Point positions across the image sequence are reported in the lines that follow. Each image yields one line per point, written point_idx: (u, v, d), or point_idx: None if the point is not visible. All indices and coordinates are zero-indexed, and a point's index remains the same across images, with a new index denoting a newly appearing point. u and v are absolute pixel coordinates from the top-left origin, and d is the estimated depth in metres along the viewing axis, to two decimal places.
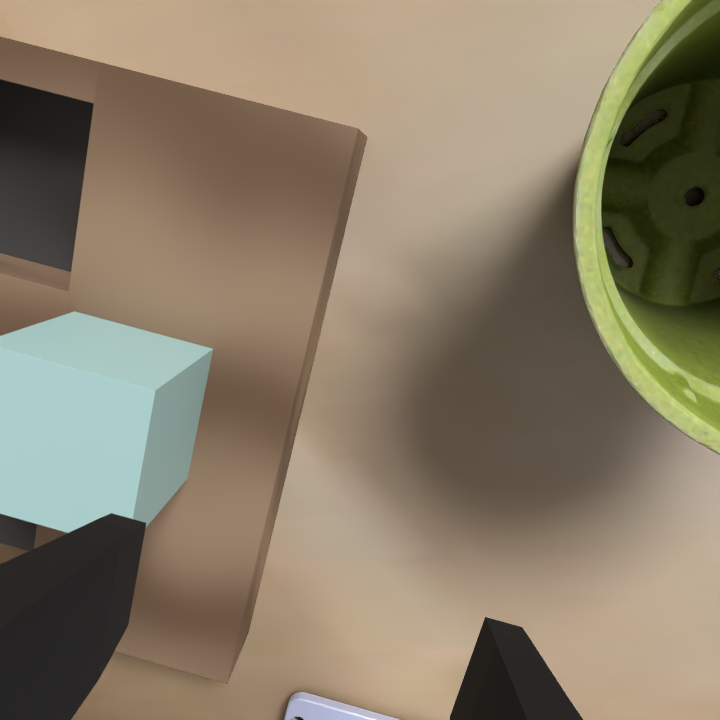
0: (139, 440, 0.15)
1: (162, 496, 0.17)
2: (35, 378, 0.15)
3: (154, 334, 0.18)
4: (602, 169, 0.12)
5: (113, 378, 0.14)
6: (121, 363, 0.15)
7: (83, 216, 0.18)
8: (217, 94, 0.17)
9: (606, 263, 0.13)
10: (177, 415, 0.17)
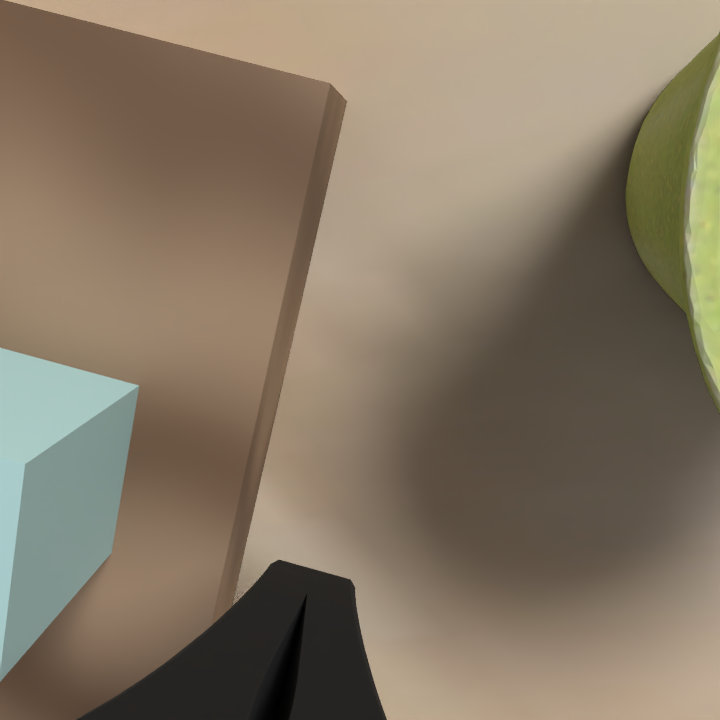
0: (6, 534, 0.10)
1: (64, 591, 0.13)
2: None
3: (60, 366, 0.14)
4: None
5: None
6: None
7: None
8: (133, 35, 0.12)
9: None
10: (79, 483, 0.12)
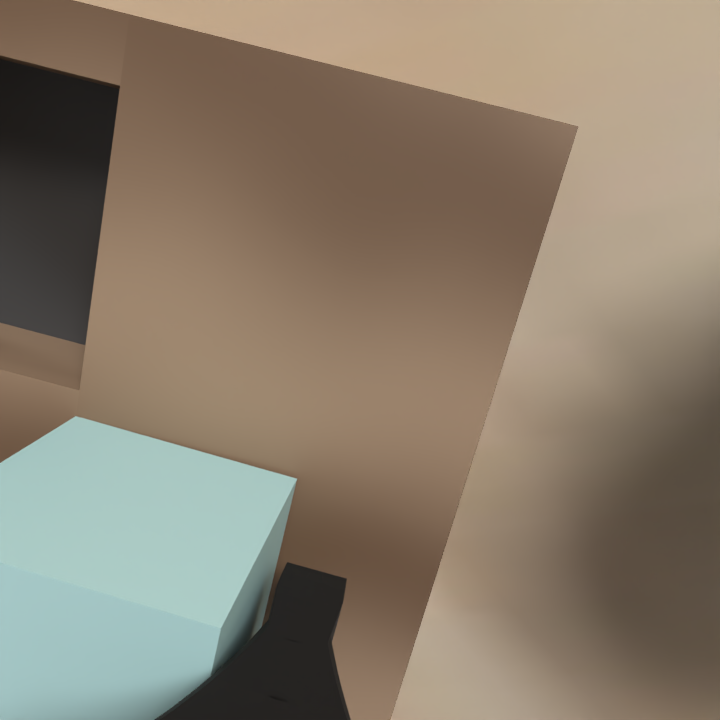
0: None
1: None
2: None
3: (203, 456, 0.11)
4: None
5: (140, 602, 0.08)
6: (154, 549, 0.09)
7: (103, 272, 0.11)
8: (333, 68, 0.10)
9: None
10: (247, 616, 0.10)
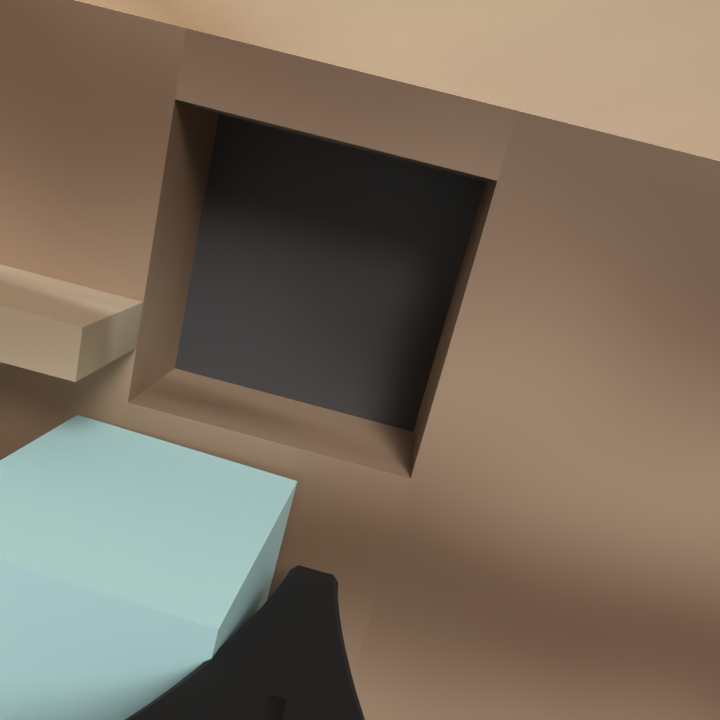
0: None
1: None
2: None
3: (203, 456, 0.11)
4: None
5: (138, 601, 0.08)
6: (153, 548, 0.09)
7: (453, 363, 0.11)
8: None
9: None
10: (245, 617, 0.10)
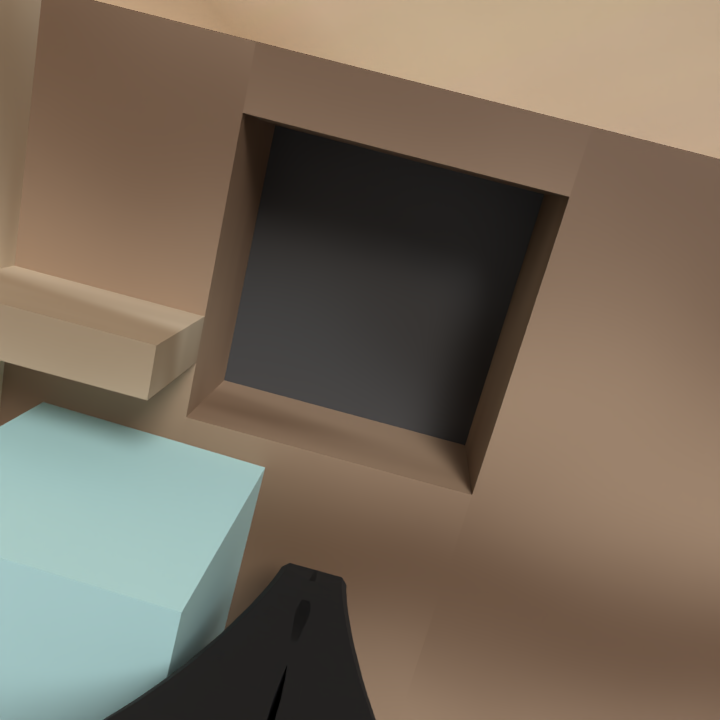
0: None
1: None
2: None
3: (171, 443, 0.11)
4: None
5: (100, 586, 0.08)
6: (118, 534, 0.09)
7: (518, 379, 0.11)
8: None
9: None
10: (212, 602, 0.10)
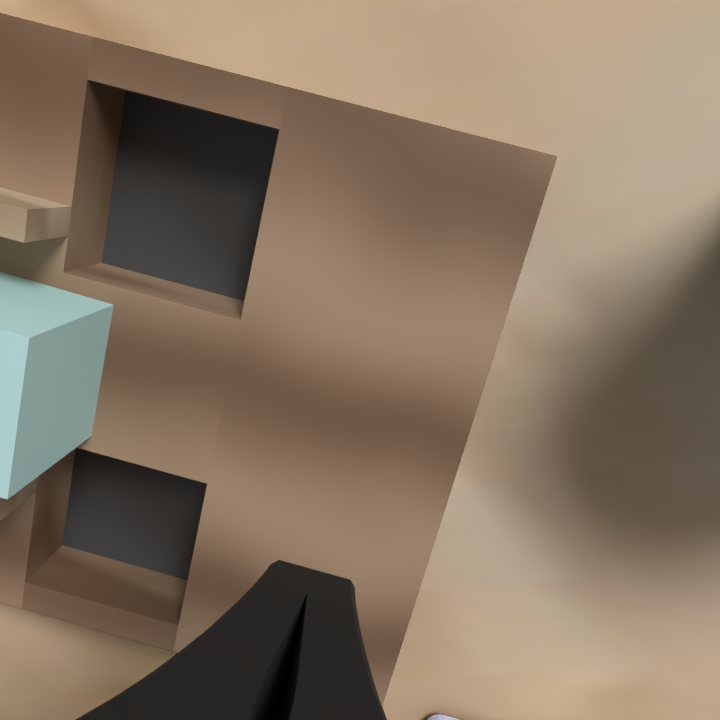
0: (15, 389, 0.15)
1: (54, 450, 0.17)
2: None
3: (54, 289, 0.18)
4: None
5: None
6: (3, 312, 0.15)
7: (261, 243, 0.17)
8: (410, 120, 0.16)
9: None
10: (67, 367, 0.16)
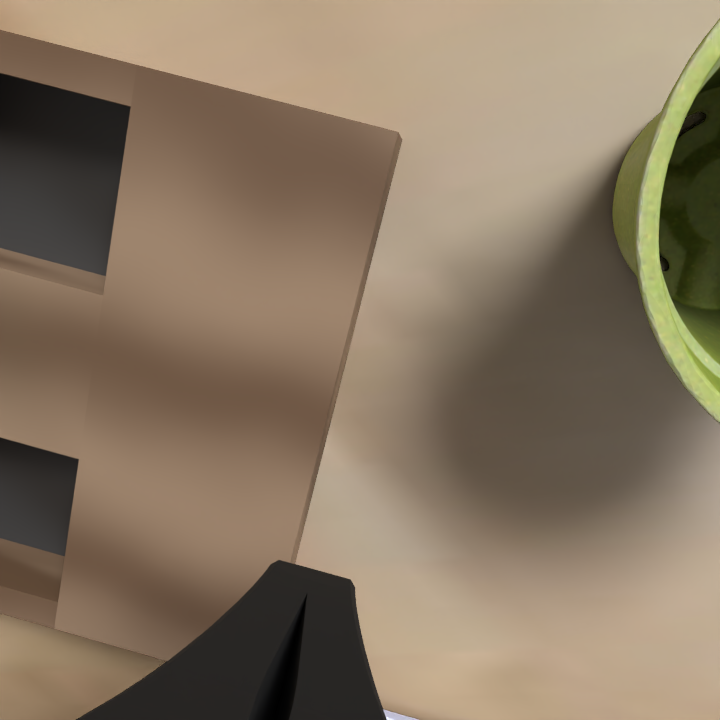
0: None
1: None
2: None
3: None
4: None
5: None
6: None
7: (119, 219, 0.18)
8: (255, 97, 0.17)
9: (660, 269, 0.13)
10: None
